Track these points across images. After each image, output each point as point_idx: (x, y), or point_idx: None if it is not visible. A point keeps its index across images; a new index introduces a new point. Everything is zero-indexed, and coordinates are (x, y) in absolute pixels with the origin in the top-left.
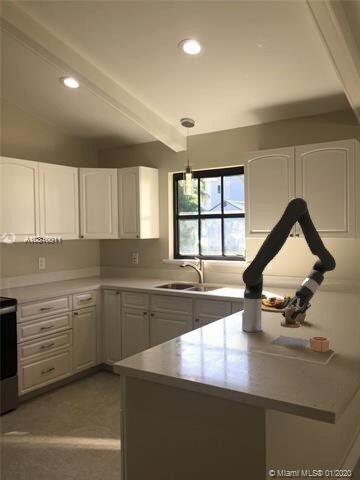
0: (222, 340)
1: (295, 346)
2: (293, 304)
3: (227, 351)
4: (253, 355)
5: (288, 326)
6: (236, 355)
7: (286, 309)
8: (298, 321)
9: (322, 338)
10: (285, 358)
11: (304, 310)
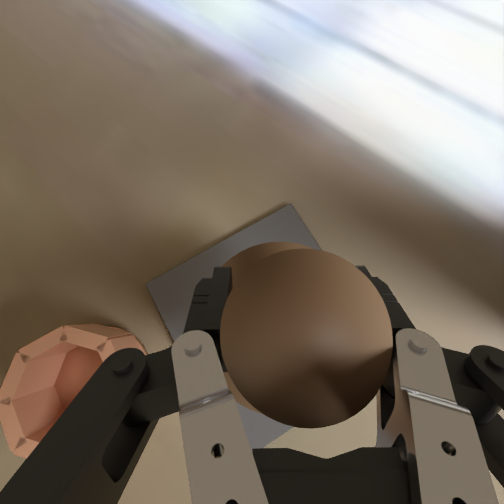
0: (434, 76)
1: (193, 285)
2: (360, 448)
3: (295, 23)
4: (209, 71)
5: (233, 258)
6: (241, 25)
7: (307, 251)
8: None
9: None
10: (113, 148)
11: (104, 454)
